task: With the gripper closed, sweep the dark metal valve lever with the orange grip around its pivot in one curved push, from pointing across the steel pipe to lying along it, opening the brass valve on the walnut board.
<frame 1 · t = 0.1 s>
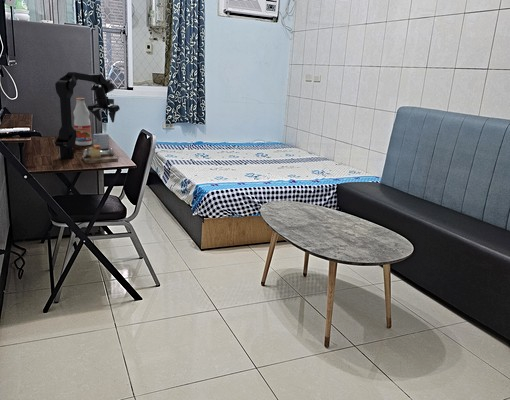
hand: (106, 121, 261), 15 cm above the table, tool pointing down, fingers open, 9 cm apart
valve lever: (95, 146, 227), point 8 cm above the table, hinge at -90.0°
fruit juice: (84, 144, 272), on the table
medicine box: (101, 149, 261), on the table
valve board: (99, 159, 232), on the table
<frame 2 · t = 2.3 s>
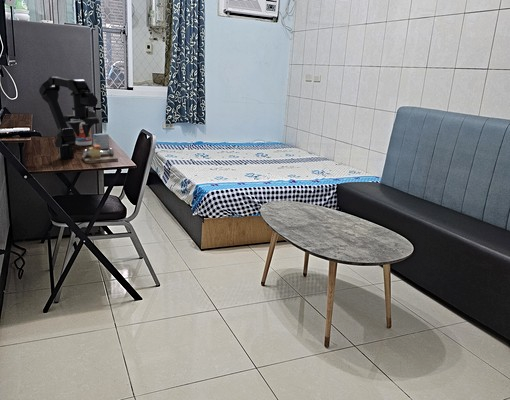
hand: (82, 136, 223), 13 cm above the table, tool pointing down, fingers open, 5 cm apart
nothing on the table moved.
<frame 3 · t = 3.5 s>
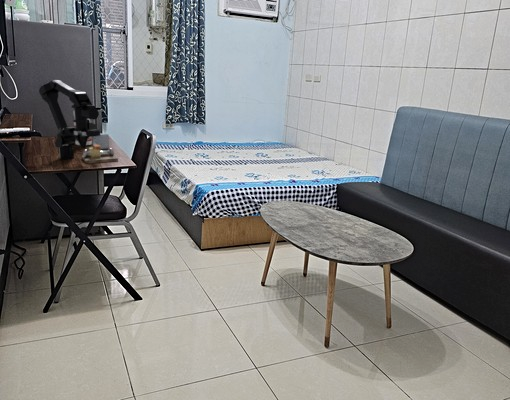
hand: (83, 148, 224), 7 cm above the table, tool pointing down, fingers closed
nothing on the table moved.
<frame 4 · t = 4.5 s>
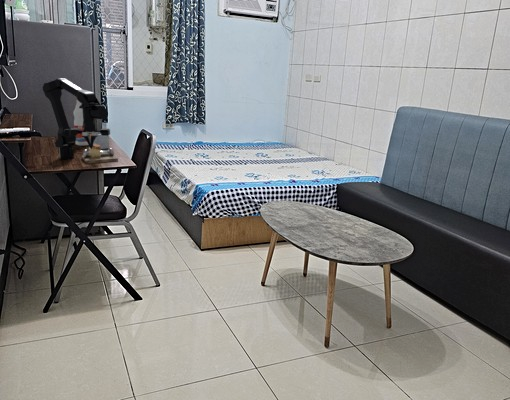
hand: (91, 148, 224), 7 cm above the table, tool pointing down, fingers closed
valve lever: (95, 146, 227), point 8 cm above the table, hinge at -89.8°, touching gripper
everything else where it was.
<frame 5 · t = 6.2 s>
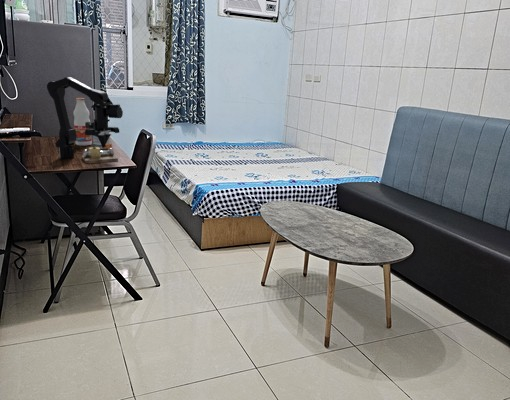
hand: (103, 147, 227), 7 cm above the table, tool pointing down, fingers closed
valve lever: (101, 145, 230), point 8 cm above the table, hinge at -46.8°, touching gripper
everything else where it was.
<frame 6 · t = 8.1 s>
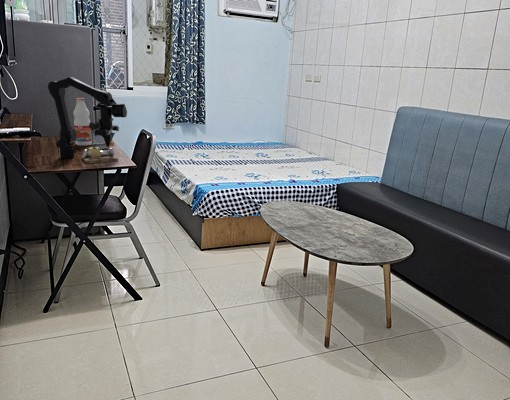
hand: (108, 146, 231), 7 cm above the table, tool pointing down, fingers closed
valve lever: (102, 144, 233), point 8 cm above the table, hinge at -4.8°
everything else where it was.
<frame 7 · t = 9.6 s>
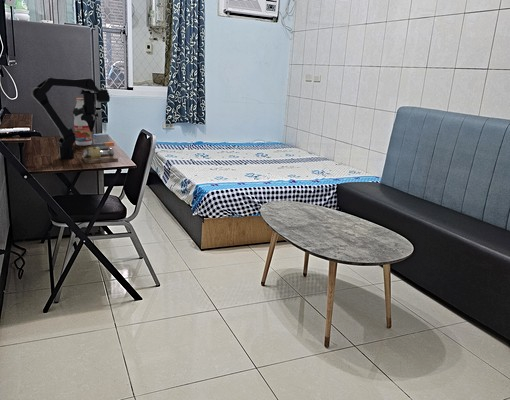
hand: (91, 131, 239), 13 cm above the table, tool pointing down, fingers closed
nothing on the table moved.
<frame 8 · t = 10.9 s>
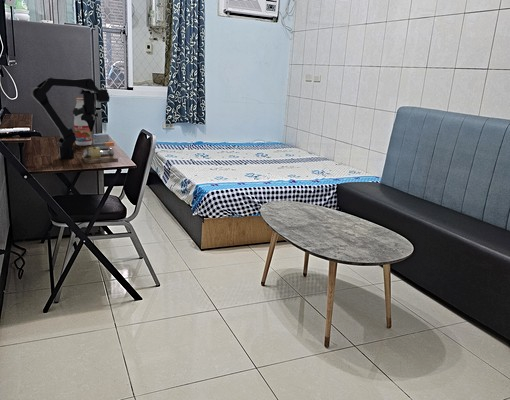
hand: (91, 131, 239), 13 cm above the table, tool pointing down, fingers closed
nothing on the table moved.
at the end: valve lever at -5° (first picture: -90°) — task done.
